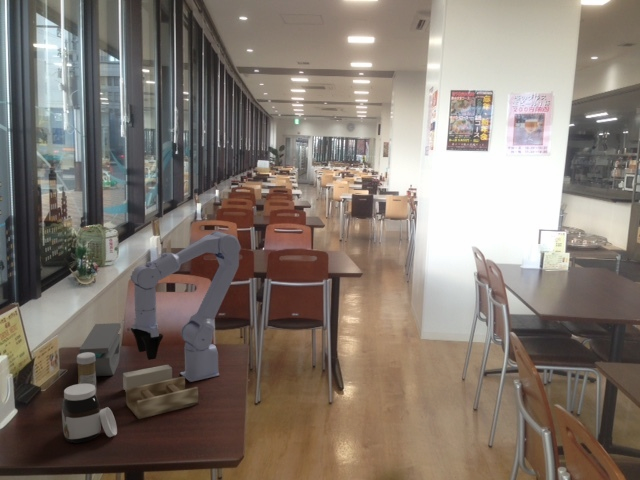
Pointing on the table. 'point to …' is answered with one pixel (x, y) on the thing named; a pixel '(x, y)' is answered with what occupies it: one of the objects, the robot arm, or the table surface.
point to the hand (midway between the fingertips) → (147, 355)
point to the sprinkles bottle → (86, 369)
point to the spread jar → (85, 414)
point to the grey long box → (104, 347)
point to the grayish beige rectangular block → (146, 376)
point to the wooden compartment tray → (160, 397)
